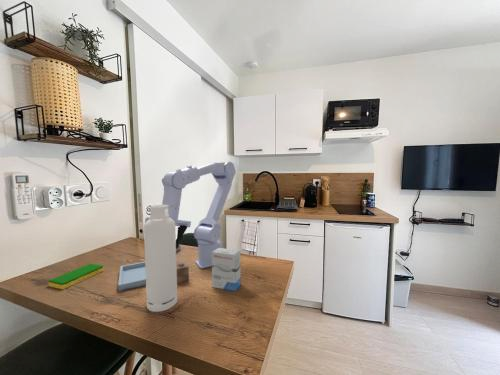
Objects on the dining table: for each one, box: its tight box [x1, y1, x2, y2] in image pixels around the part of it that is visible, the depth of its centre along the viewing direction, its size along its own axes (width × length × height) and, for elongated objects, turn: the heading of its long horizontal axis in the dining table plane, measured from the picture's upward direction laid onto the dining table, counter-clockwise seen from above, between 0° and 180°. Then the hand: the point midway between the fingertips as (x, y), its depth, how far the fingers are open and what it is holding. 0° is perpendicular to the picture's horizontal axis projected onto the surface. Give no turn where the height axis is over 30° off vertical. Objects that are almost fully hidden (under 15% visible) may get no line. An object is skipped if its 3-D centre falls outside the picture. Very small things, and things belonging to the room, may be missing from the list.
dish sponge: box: [48, 263, 105, 290], centre depth 75 cm, size 7×14×2 cm, turn 163°
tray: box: [117, 261, 146, 292], centre depth 76 cm, size 14×16×2 cm
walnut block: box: [176, 261, 190, 284], centre depth 73 cm, size 4×4×5 cm
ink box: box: [211, 247, 242, 292], centre depth 68 cm, size 8×5×12 cm, turn 71°
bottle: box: [143, 204, 178, 313], centre depth 59 cm, size 8×8×28 cm
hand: (165, 247), depth 70 cm, fingers open, 7 cm apart
